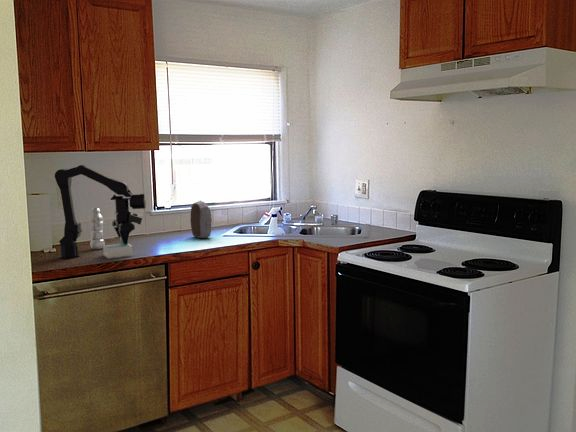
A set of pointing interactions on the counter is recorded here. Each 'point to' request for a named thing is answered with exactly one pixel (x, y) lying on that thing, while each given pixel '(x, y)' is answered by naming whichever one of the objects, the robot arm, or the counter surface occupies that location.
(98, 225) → the plastic bottle
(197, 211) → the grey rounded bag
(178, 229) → the counter surface
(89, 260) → the counter surface
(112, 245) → the lid
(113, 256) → the tub
